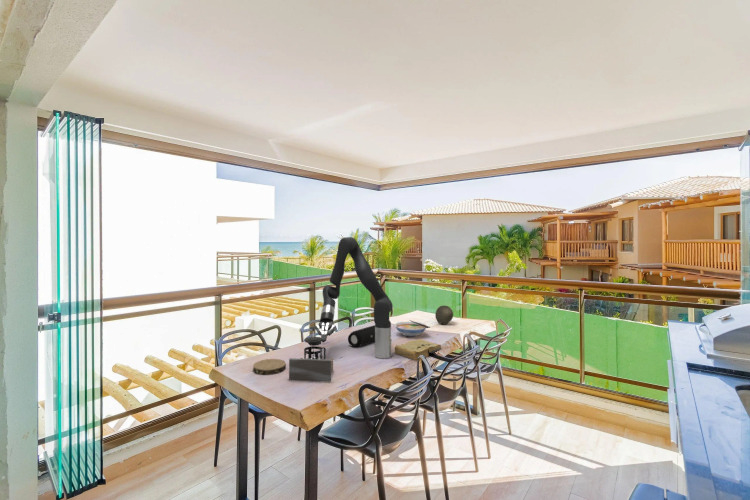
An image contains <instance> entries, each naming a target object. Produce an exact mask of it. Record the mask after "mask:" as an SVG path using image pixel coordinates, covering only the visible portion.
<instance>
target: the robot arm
mask: <svg viewBox="0 0 750 500" xmlns="http://www.w3.org/2000/svg"><path fill="white" fill-rule="evenodd" d="M349 255H350V257H351V258H352V261H353V264H354V268H355V273H356V276H357V278H358V279H359V281H360V283H361V284H362V286H363V287H364V288H366V290H368V292H369V293H370V294H371V295H372V296H373V298H374V300H375V303H374V305H373V321H374V325H375V341H374V357H375V358H376V359H377V358H378V359H390V358H391V356H392V322H391V320H390V313H391V312H392V311H393V308H394V307H393V306H394V305H393V303H392V301H391V299H390V297H389V296H388V295H387V293H386V292H385V290H384V289H383V288H382V285H381V284H380V282H379V280H378V278H377V276H376V274H375V272H374V271H373V268H372V267H371V266H370V265H369V262H368V261H367V259H366V257H365V256H364V253H363V252H362V250H361V247H360V245H359V243H358V241H357V239H355V237H352V236H347V237H342V238H341V239H340V240H339V241H338V246H337V253H336V258H335V262H334V265H333V268H332V271H331V275H330V278H329V283H331V284H332V285H334V286H332V285H325V286H324V287H323V289H322V297H323V304H322V309H321V313H320V319H319V322H318V325H314V326H313V327H318V328H317V329H314V331H316V332H317V334H318V336H319V337H320V338H322V341H321V343H326V342H327V338H328V337H329V336H331V335H332V334H333V333H334V332H336V330H337V329H338V328H337V326H336V325H334V318H335V309H336V300H337V299H338V298H339V297H340V293H341V284H342V280H343V277H344V274H345V266H346V265H345V264H346V259H347V257H348V256H349Z"/></svg>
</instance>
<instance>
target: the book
mask: <svg viewBox="0 0 750 500" xmlns="http://www.w3.org/2000/svg"><path fill="white" fill-rule="evenodd" d="M441 350H443V347H442V345H441V344H438V343H434V342H431V341H428V340H424V339H421V338H418V339H416V340H408V342H405V343H403V344H400V345H398V344H395V346H394V353H393V355H394V356H399V357H401V358H404V359H407V360H409V361H414V362H417V361H419V360H418V357H419V356H420V355H425V357H426V358H429V357H430V354H429V353H431V354H433V353H435V352H439V351H441ZM426 358H425V359H426Z"/></svg>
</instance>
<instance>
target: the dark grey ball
mask: <svg viewBox="0 0 750 500" xmlns="http://www.w3.org/2000/svg"><path fill="white" fill-rule="evenodd" d="M453 317H454V311H453V309H452V308H451V307H450V306H448V305H440V306H438V308H437V309H436V311H435V317H434V318H435V320H436V321H437V323H438V324H440V325H446V324H448V323H450V322H451V321H452V320H453Z"/></svg>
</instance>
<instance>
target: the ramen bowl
mask: <svg viewBox="0 0 750 500" xmlns="http://www.w3.org/2000/svg"><path fill="white" fill-rule="evenodd" d="M394 326H395V328H396V330H397V332H399V333H400V334H402V335H403V336H406V337H409V338H413V337H417V336H419V335H421V334H423V333H424V332H425V331H426V329H430V328H431V326H428V325H427V324H426V323H422V322H418V321H413V320H410V319H409V321H399V322H396V323H395V324H394Z"/></svg>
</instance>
